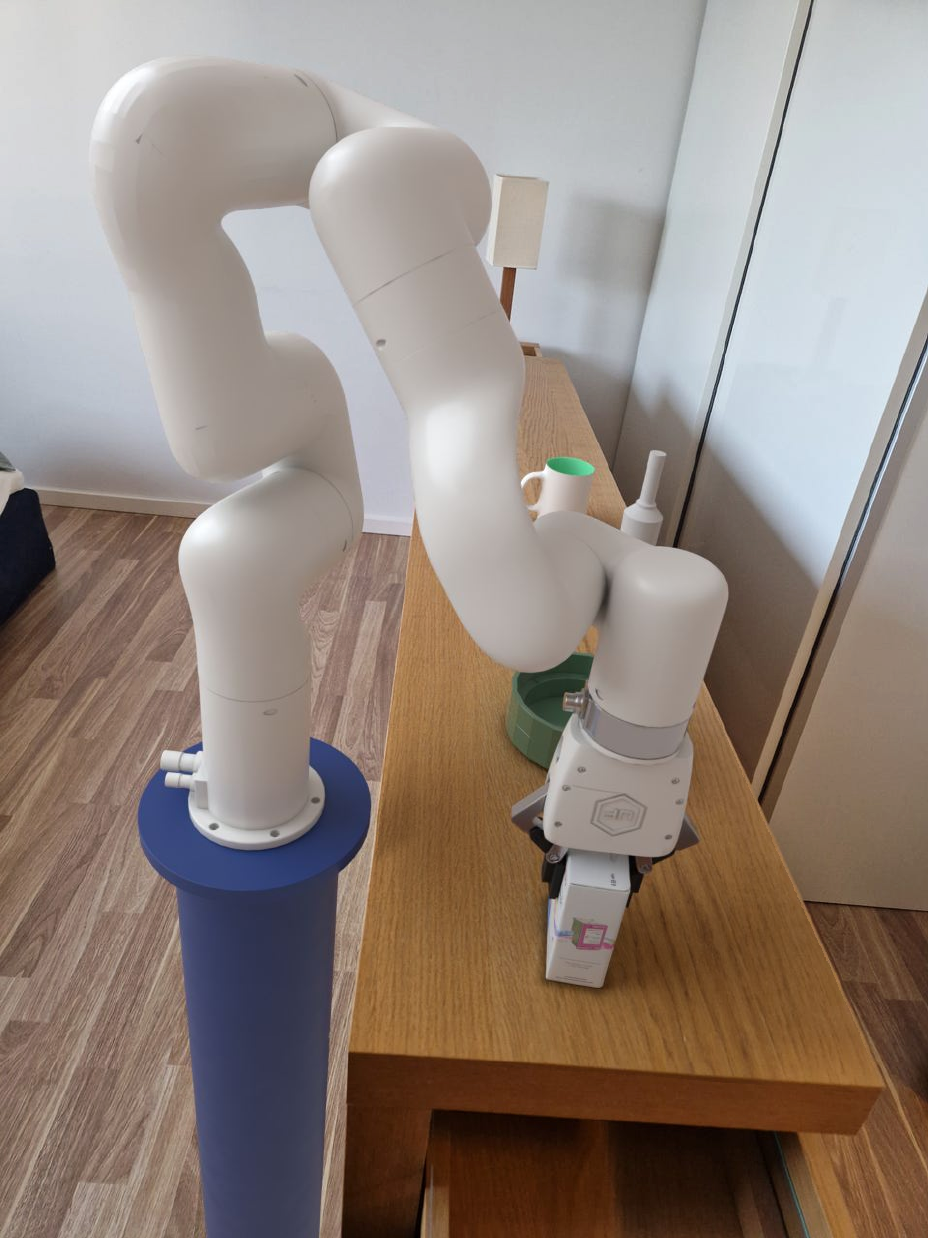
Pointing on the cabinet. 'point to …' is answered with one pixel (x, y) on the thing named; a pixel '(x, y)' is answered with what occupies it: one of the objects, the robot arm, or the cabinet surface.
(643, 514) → the bottle
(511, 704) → the bowl
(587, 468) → the mug
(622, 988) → the cabinet surface
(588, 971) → the ink box
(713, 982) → the cabinet surface
